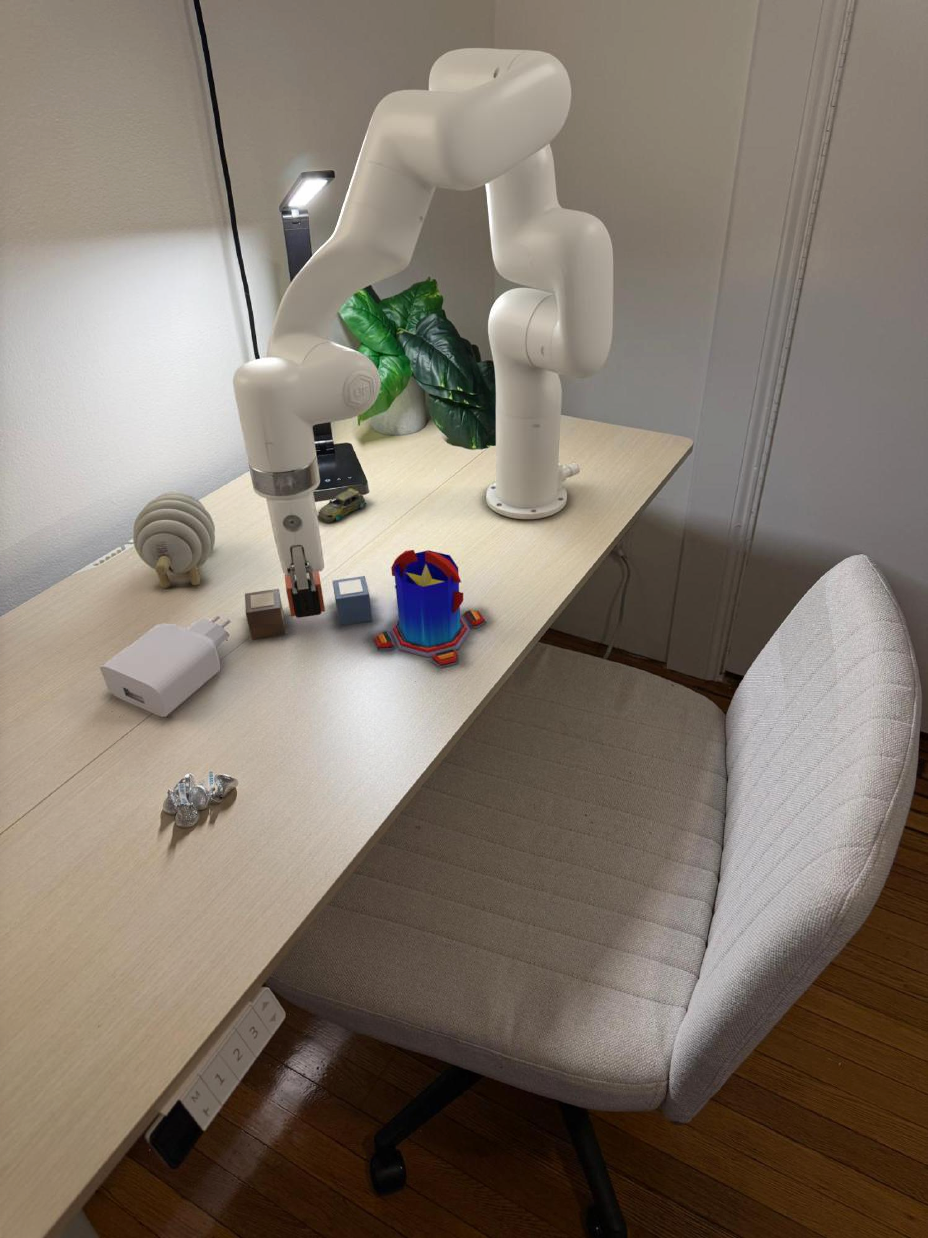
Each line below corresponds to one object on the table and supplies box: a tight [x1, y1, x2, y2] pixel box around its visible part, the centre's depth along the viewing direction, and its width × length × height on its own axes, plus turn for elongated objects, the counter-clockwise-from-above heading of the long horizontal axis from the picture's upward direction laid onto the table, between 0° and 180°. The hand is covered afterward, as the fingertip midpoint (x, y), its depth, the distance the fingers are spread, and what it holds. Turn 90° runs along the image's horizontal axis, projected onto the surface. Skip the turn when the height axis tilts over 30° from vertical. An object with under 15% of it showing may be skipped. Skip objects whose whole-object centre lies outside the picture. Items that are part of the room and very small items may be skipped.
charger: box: [99, 615, 231, 718], centre depth 97 cm, size 5×9×15 cm
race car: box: [317, 487, 367, 524], centre depth 126 cm, size 4×8×2 cm, turn 138°
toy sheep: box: [132, 491, 216, 589], centre depth 111 cm, size 11×17×11 cm, turn 10°
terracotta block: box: [284, 570, 326, 617], centre depth 102 cm, size 4×4×4 cm
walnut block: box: [244, 588, 287, 640], centre depth 103 cm, size 4×4×4 cm
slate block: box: [332, 575, 373, 626], centre depth 105 cm, size 4×4×4 cm
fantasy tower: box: [372, 549, 488, 669], centre depth 99 cm, size 12×12×12 cm
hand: (306, 602), depth 103 cm, fingers closed on terracotta block, 4 cm apart
